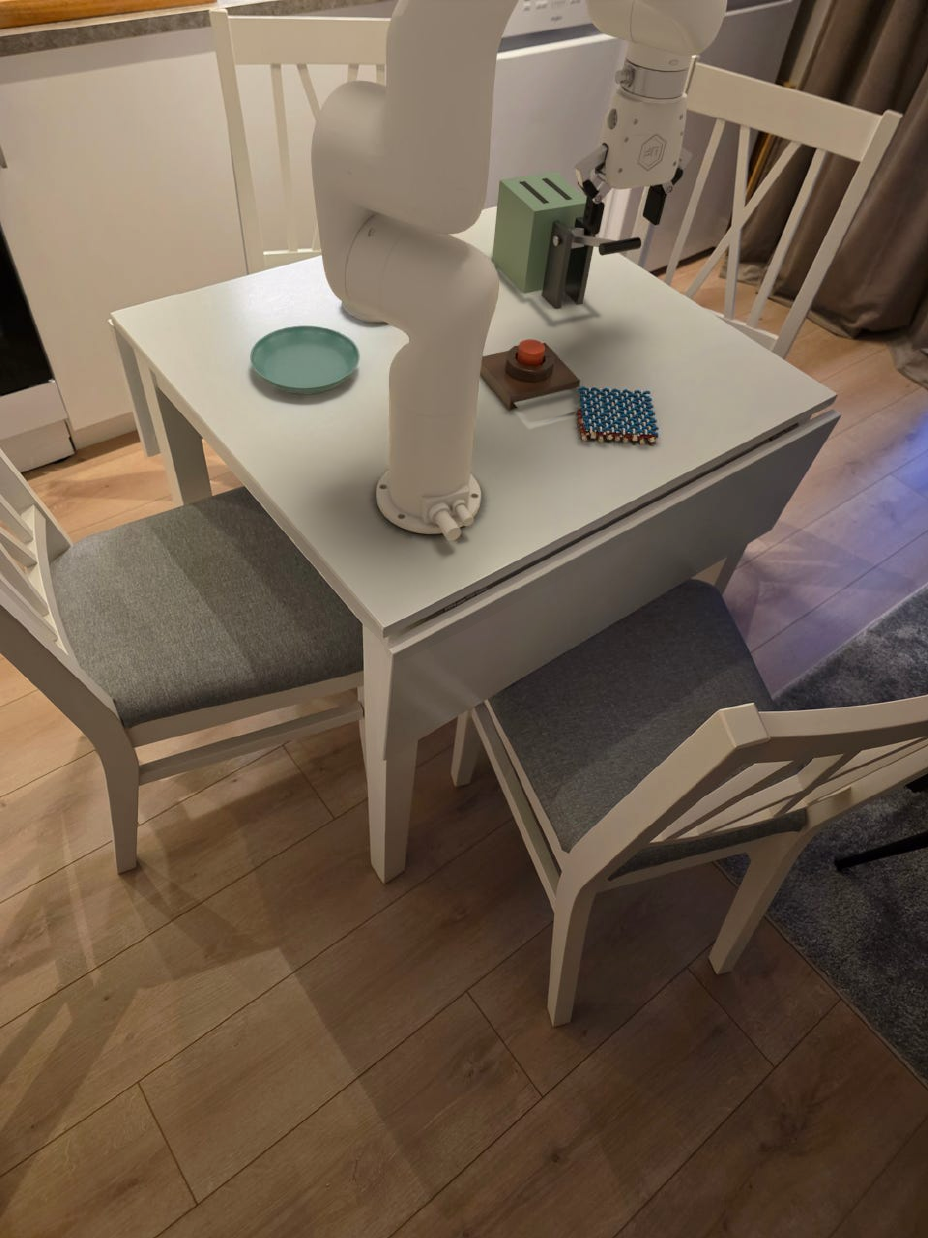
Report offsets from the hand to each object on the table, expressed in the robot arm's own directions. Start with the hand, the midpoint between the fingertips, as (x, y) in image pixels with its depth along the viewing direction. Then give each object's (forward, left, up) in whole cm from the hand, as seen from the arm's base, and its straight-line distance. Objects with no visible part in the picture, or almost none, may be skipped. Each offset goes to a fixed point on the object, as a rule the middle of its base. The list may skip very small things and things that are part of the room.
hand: (620, 225), depth 110 cm
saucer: (+8, +43, -18) cm, 47 cm away
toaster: (+20, 0, -18) cm, 27 cm away
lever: (+5, 0, -6) cm, 8 cm away
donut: (+20, +28, -18) cm, 39 cm away
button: (-5, +15, -14) cm, 21 cm away
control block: (-5, +15, -18) cm, 24 cm away
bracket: (+11, 0, -18) cm, 21 cm away
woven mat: (-17, +8, -18) cm, 26 cm away
